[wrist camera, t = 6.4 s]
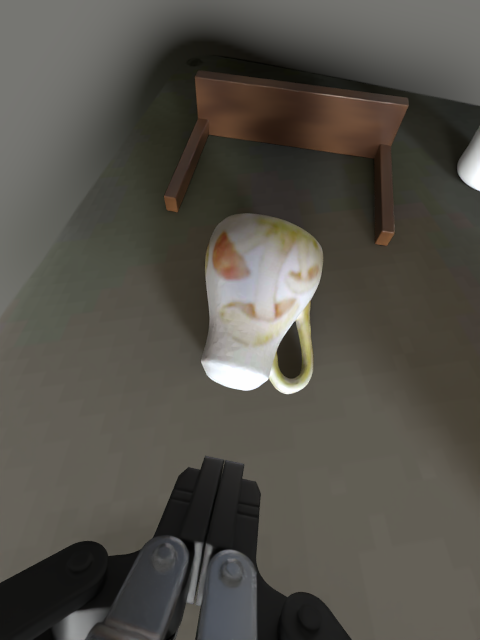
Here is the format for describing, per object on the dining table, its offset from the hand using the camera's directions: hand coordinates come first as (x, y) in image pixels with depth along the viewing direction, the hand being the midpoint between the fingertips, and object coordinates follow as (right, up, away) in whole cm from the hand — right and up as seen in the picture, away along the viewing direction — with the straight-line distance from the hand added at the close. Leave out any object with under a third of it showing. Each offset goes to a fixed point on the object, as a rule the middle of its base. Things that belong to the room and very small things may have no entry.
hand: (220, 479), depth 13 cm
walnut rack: (+5, +18, +18) cm, 26 cm away
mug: (+2, +5, +10) cm, 12 cm away
